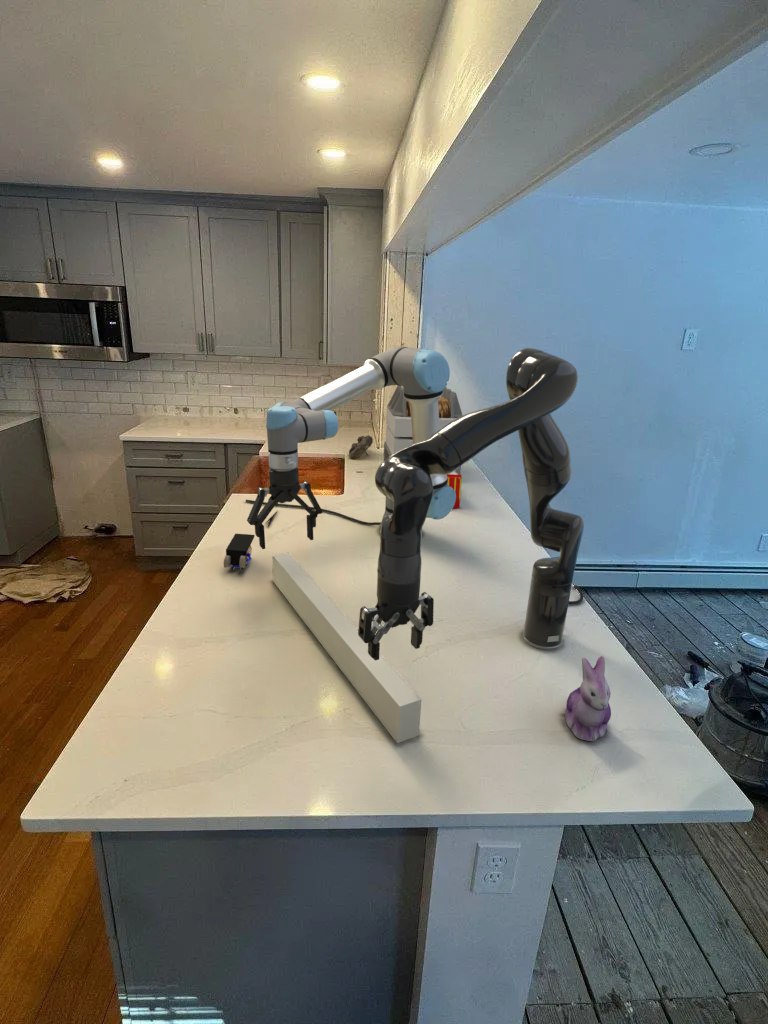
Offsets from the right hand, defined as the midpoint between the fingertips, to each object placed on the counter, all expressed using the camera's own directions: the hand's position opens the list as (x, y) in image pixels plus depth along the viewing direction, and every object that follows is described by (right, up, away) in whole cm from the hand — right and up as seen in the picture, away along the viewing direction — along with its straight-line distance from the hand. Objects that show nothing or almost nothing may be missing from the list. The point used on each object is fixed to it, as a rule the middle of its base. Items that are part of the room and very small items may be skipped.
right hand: (395, 652), depth 104 cm
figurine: (+37, -16, +6) cm, 41 cm away
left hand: (-29, +17, +50) cm, 60 cm away
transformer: (+15, +44, +171) cm, 177 cm away
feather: (-43, +25, +109) cm, 119 cm away
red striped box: (+23, +32, +137) cm, 143 cm away
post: (-15, -5, +30) cm, 34 cm away
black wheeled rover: (-45, +10, +67) cm, 81 cm away
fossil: (-15, +56, +200) cm, 208 cm away
